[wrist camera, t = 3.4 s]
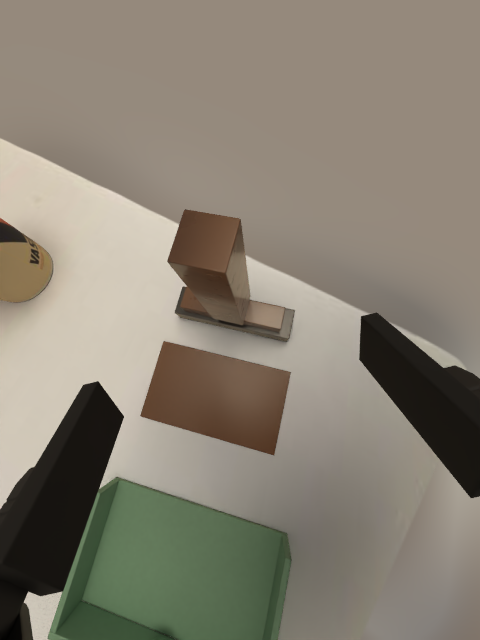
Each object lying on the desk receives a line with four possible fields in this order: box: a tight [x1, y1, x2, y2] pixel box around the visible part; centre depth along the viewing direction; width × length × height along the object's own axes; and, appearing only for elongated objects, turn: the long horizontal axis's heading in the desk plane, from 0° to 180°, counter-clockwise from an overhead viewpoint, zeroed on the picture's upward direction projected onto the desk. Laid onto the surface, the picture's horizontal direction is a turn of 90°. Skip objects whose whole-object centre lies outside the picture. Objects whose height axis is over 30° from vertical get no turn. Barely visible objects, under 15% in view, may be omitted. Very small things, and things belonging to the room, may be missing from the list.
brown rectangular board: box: [141, 341, 291, 455], centre depth 26 cm, size 14×8×1 cm, turn 76°
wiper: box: [168, 209, 295, 342], centre depth 20 cm, size 12×3×16 cm, turn 76°
